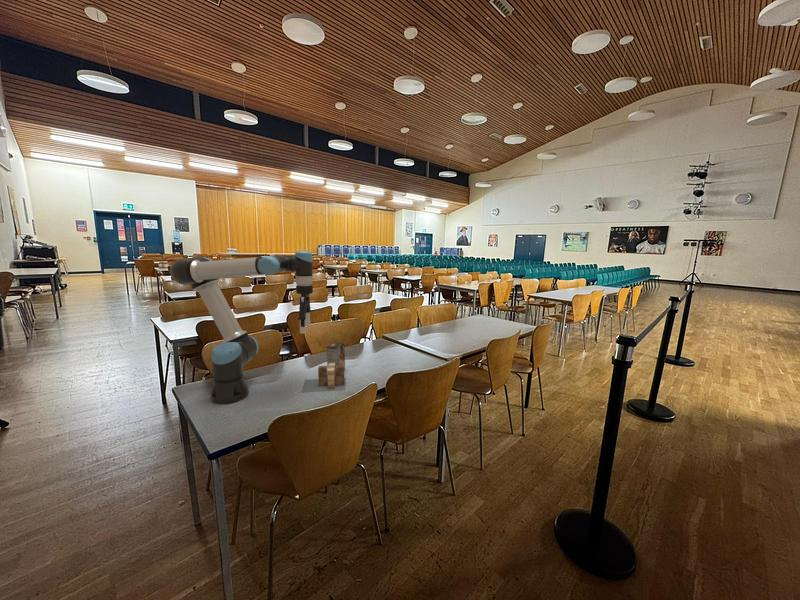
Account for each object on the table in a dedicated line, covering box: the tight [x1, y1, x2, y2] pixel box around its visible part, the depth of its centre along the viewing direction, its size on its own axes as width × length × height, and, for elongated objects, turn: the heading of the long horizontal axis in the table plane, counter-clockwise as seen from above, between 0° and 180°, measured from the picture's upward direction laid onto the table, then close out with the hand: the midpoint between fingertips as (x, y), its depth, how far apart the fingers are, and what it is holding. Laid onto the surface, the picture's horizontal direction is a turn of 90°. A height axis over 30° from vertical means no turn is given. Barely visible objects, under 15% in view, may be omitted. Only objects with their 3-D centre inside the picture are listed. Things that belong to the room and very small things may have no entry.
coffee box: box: [326, 341, 346, 374], centre depth 174 cm, size 9×6×16 cm
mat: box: [300, 377, 347, 393], centre depth 160 cm, size 20×14×1 cm
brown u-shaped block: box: [317, 365, 346, 386], centre depth 160 cm, size 12×3×9 cm, turn 98°
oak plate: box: [327, 363, 335, 389], centre depth 160 cm, size 10×3×9 cm, turn 8°
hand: (305, 329), depth 158 cm, fingers open, 13 cm apart
